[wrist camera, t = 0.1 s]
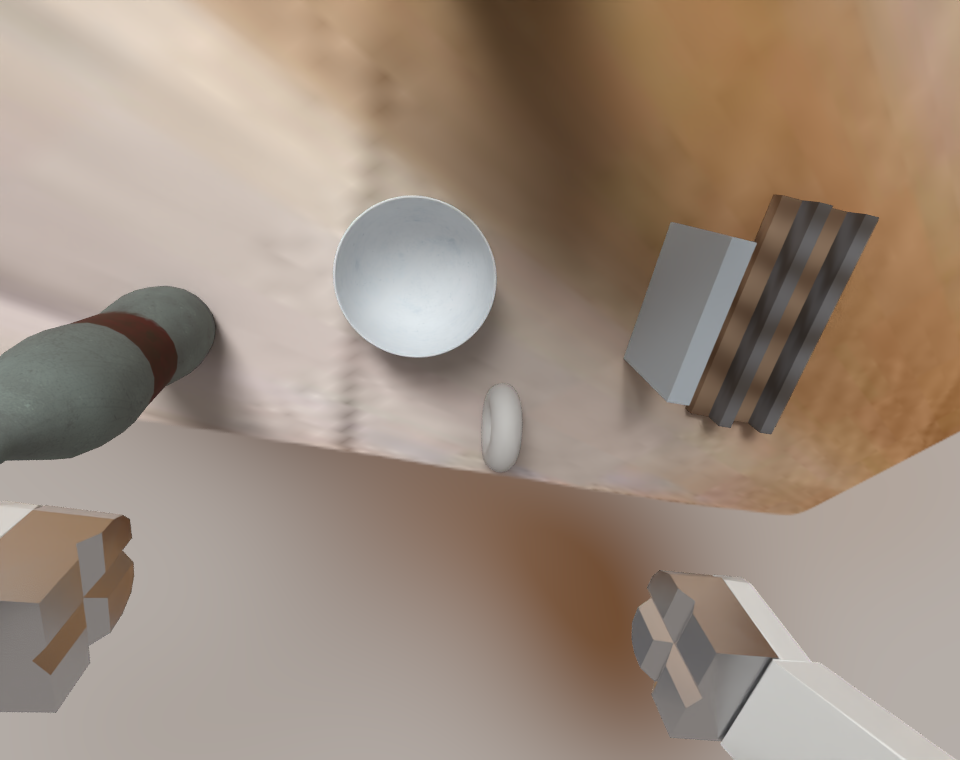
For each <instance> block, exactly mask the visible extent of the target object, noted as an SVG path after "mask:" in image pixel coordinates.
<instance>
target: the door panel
mask: <svg viewBox="0 0 960 760" xmlns="http://www.w3.org/2000/svg"><path fill="white" fill-rule="evenodd" d="M756 244H757V243H756V242H752V241H748V240H744V239H739V238H735V237H731V236H727V235H723V234H719V233H715V232H711V231H707V230H703V229H699V228H695V227H691V226H687V225H682V224H678V223H674V222H671V223H670V226H669V229H668V232H667V235H666V238H665V240H664V243H663V246H662V249H661V252H660V255H659V258H658V261H657V263H656V266H655V269H654V272H653V275H652V278H651V281H650V284H649V286H648V289H647V292H646V295H645V298H644V301H643V304H642V307H641V309H640V312H639V315H638V318H637V321H636V324H635V327H634V330H633V332H632V335H631V338H630V341H629V344H628V347H627V350H626V353H625V355H624V359H625V360H626V361H627V362H628V363H629V364H630V365H631V366H632V367H633V368H634V369H635V370H636V371H637V372H638V373H639V374H640V375H641V376H642V377H643V378H644V379H645V380H646V381H647V382H648V383H649V384H650V385H651V386H652V387H653V388H654V389H655V390H656V391H657V392H658V393H659V394H660V395H661V396H662V397H663V398H664V399H665V400H666V401H667V402H670V403H676V404H682V405H688V406H689V405H690V402H691V400H692V398H693V395H694V393H695V390H696V388H697V386H698V383H699V381H700V378H701V376H702V374H703V371H704V369H705V366H706V364H707V362H708V359H709V357H710V354H711V352H712V350H713V347H714V345H715V342H716V340H717V338H718V335H719V333H720V330H721V328H722V326H723V323H724V321H725V319H726V316H727V314H728V311H729V309H730V307H731V304H732V302H733V299H734V297H735V295H736V292H737V290H738V287H739V285H740V283H741V280H742V278H743V275H744V273H745V271H746V268H747V266H748V263H749V261H750V259H751V256H752V254H753V251H754V249H755V247H756Z"/></svg>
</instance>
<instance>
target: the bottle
mask: <svg viewBox="0 0 960 760" xmlns="http://www.w3.org/2000/svg"><path fill="white" fill-rule="evenodd" d="M214 337H215V323H214V319H213V315H212V314H211V312H210V310H209V309H208V307H207V305H206V304H205V303H204V302H203V301H202V300H200V299H199V298H198V297H197V296H196V295H194V294H192V293H190V292H188V291H187V290H184V289H180V288H176V287H170V286H158V287H149V288H144V289H139V290H135V291H133V292H131V293H128V294H126V295H124V296H122V297H121V298H119V299H118V300H116V301H115V302H114V303H112V304H111V305H109V306H108V307H107V308H106V309H105V310H103V311H102V312H101V313H100V314H98V315H95V316H92V317H89V318H86V319H83V320H80V321H77V322H74V323H71V324H67V325H63V326H60V327H56V328H52V329H48V330H45V331H42V332H40V333H37V334H35V335H33V336H30V337H28V338H26V339H24V340H23V341H21V342H20V343H18V344H17V345H15V346H14V347H12V348H11V349H9V350H7V351H6V352H4V353H3V354H2V355H1V356H0V464H1V463H3V462H4V461H7V460H52V459H53V460H54V459H65V458H73V457H75V456H78V455H80V454H82V453H85V452H88V451H90V450H93V449H95V448H98V447H100V446H102V445H104V444H105V443H107V442H109V441H110V440H112V439H113V438H115V437H116V436H118V435H120V434H121V433H123V432H124V431H125V430H126V429H127V428H128V427H129V426H131V425H132V424H133V423H134V422H135V421H136V420H137V418H138V417H139V416H140V415H141V413H142V412H143V411H144V410H145V408H146V407H147V406H148V405H149V404H150V403H151V401H152V400H153V399H154V398H155V397H156V396H157V395H158V394H159V393H160V392H161V391H162V389H163V388H164V387H165V386H167V385H169V384H171V383H173V382H175V381H177V380H178V379H180V378H182V377H184V376H185V375H187V374H189V373H191V372H192V371H193V370H194V369H195V368H196V367H197V366H198V365H200V364H201V362H202V361H203V359H204V358H205V357H206V355H207V354H208V352H209V350H210V348H211V346H212V344H213V341H214Z"/></svg>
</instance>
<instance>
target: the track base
mask: <svg viewBox="0 0 960 760" xmlns="http://www.w3.org/2000/svg"><path fill="white" fill-rule="evenodd" d="M832 207H833V206H832V205H828V204H824V203H820V202H812V201H802V200H799V199H795V198H791V197H787V196H783V195H773V198H772V200H771V203H770V205H769V207H768V210H767V212H766V215H765V217H764V219H763V222H762V224H761V227H760V229H759V232H758V234H757V236H756V239H755V241H754V242H756V243H757V244H756V247H755V249H754V251H753V254H752V256H751V259H750V261H749V263H748V266H747V268H746V271H745V273H744V275H743V278H742V280H741V283H740V285H739V287H738V290H737V292H736V295H735V297H734V299H733V302H732V304H731V307H730V309H729V311H728V314H727V316H726V319H725V321H724V323H723V326H722V328H721V330H720V333H719V335H718V338H717V340H716V342H715V345H714V347H713V350H712V352H711V354H710V357H709V359H708V362H707V364H706V366H705V369H704V371H703V374H702V376H701V378H700V381H699V383H698V386H697V388H696V390H695V393H694V395H693V398H692V400H691V402H690V405H689V406H688V405H686V409H687V410H688V411H689V412H690V413H691V414H697V415H703V416H708V417H710V418H711V419H712V420H713V421H714V422H715V423H716V424H717V425H718V426H722V427H728V428H731V426H732V424H733V422H734V421H740V422H746V423H749V424H750V425H751V426H752V427H754V428H755V429H756V430H757V431H758V432H760V433H766V434H772V432H773V430H774V428H775V427H776V425H777V423H778V421H779V419H780V417H781V415H782V413H783V411H784V409H785V407H786V405H787V403H788V401H789V399H790V397H791V395H792V393H793V391H794V389H795V387H796V385H797V383H798V381H799V379H800V377H801V375H802V373H803V371H804V369H805V367H806V365H807V363H808V361H809V359H810V357H811V355H812V353H813V351H814V349H815V347H816V345H817V343H818V341H819V339H820V337H821V335H822V333H823V331H824V329H825V327H826V325H827V323H828V321H829V319H830V317H831V315H832V313H833V311H834V309H835V307H836V305H837V303H838V300H839V298H840V296H841V294H842V292H843V290H844V288H845V286H846V284H847V282H848V280H849V278H850V276H851V274H852V272H853V270H854V268H855V266H856V264H857V262H858V260H859V258H860V256H861V254H862V252H863V250H864V248H865V246H866V244H867V242H868V240H869V238H870V236H871V234H872V232H873V230H874V228H875V226H876V224H877V222H878V219H879V217H875V216H871V215H867V214H860V213H852V212H846V211H842V210H838V209H834V208H832Z"/></svg>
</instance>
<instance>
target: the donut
mask: <svg viewBox="0 0 960 760" xmlns="http://www.w3.org/2000/svg"><path fill="white" fill-rule="evenodd" d="M522 425H523V422H522V407H521V402H520V398H519V395H518V393H517V392H516V390H515V389H514V388H513V387H512V386H511V385H509V384H505V383H502V384H497V385H494V386H493V387H491V388H490V389H489V391H488V393H487V395H486V397H485V401H484V406H483V413H482V427H481V443H482V454H483V458H484V461H485V463H486V465H487V466H488V467H489V468H490V469H492V470H493V471H495V472H505V471H507V470H509V469H510V468H511V467H512V466H513V465H514V464H515V462H516V460H517V458H518V455H519V451H520V447H521V440H522Z"/></svg>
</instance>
